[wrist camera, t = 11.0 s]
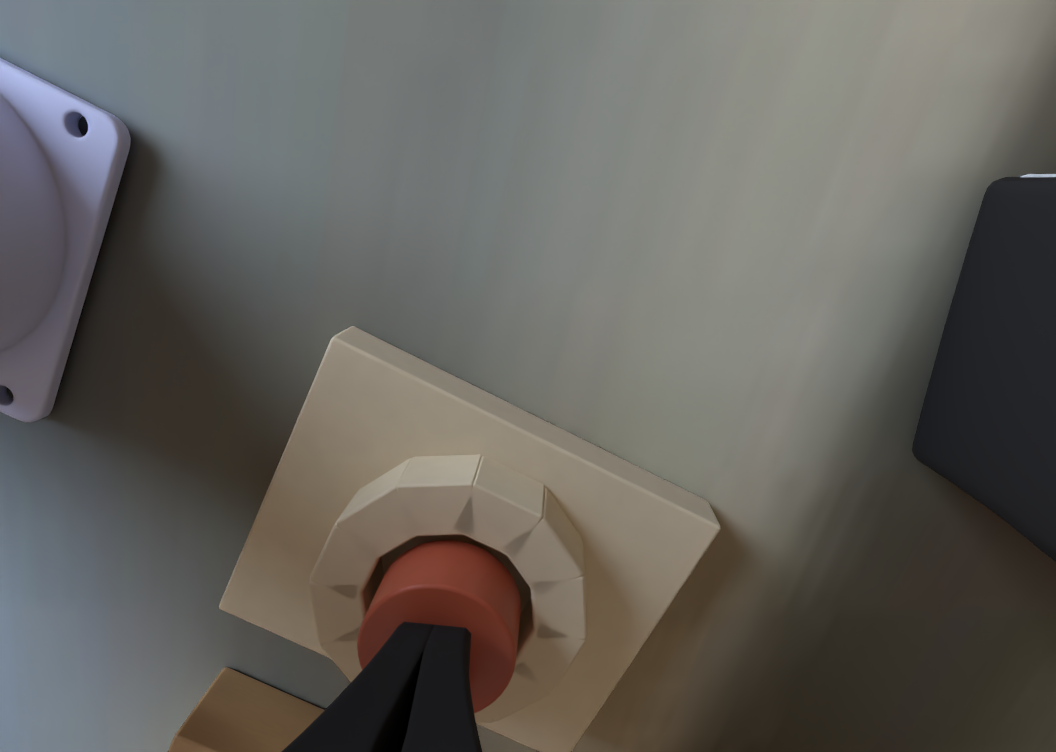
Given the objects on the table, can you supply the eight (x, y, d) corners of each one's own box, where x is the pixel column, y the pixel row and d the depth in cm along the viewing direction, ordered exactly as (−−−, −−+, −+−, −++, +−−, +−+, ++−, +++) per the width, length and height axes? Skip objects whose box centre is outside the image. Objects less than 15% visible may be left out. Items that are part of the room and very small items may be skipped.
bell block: (243, 577, 17) (179, 652, 14) (351, 323, 15) (302, 352, 12) (564, 722, 18) (564, 822, 15) (709, 500, 16) (742, 566, 13)
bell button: (358, 625, 14) (331, 681, 13) (414, 514, 14) (393, 558, 12) (483, 682, 15) (473, 744, 13) (546, 576, 14) (544, 629, 12)
